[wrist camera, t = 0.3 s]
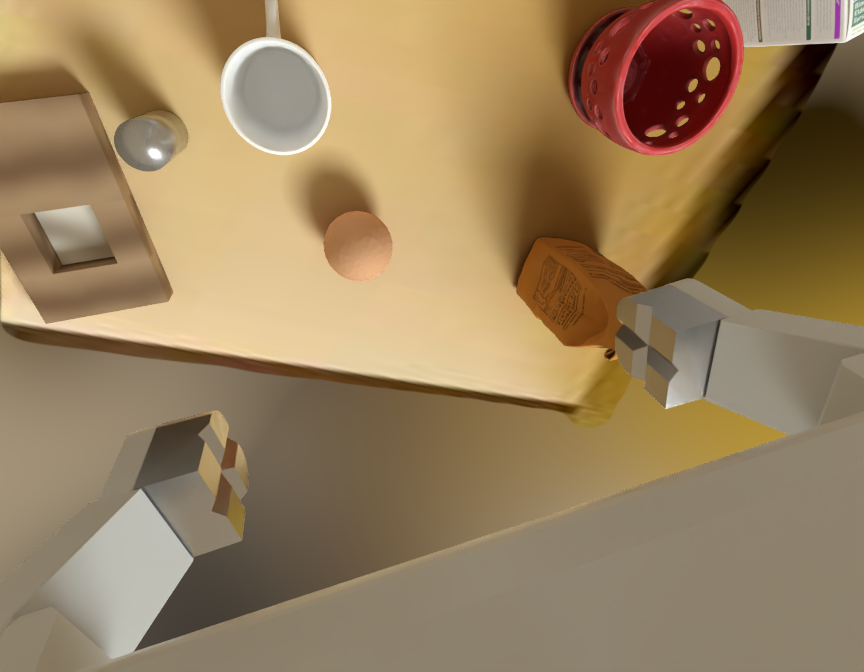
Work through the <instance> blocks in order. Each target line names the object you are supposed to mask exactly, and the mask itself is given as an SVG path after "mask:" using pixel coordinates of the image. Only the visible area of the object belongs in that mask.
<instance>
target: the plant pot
mask: <svg viewBox="0 0 864 672" xmlns="http://www.w3.org/2000/svg"><path fill="white" fill-rule="evenodd" d="M682 9H688V10H689V11H691V12H692V13H690V14H687V13H682V12H679V10H682ZM707 19H709V20H711V21H713V22H714V24H715V26H712V25H711V24H710V23H709V22H708V20H707ZM694 23H696V24H698V25H699V26H700V28H701V29H699V28H697V27H696V26H695V25H694ZM698 40H701V41H703V43H704V44H705V51H704V52H701V51H700V50H699V49H698V47H697V41H698ZM715 40H717V41H718V42H719V44H720V49H718V48H717V47H716V45H715ZM713 57H717V58H718V59H719V61H720V71H719V74H718V75H717V77H716V78H715V79H713V80H711V81H709V80H708V79H707V77H706V68H707V65H708V63H709V61H710V60H711V59H712V58H713ZM743 57H744V41H743V35H742V30H741V27H740V24H739V22H738V19H737V17H736V15H735V14H734V12H733V11H732V9H731V8H730V7H729V6H728V5H727V4H726V3H724V2H723V1H721V0H654V1H651V2H647V3H645V4H643V5H640V6H638V7H625V8H620V9H617V10H614V11H612V12H610V13H608V14H606V15H604V16H603V17H601V18H600V19H599V20H598V21H596V22H595V23H594V24H593V25H592V26H591V27H590V28H589V29H588V31H587V32H586V33H585V35H584V36H583V37H582V39H581V41H580V42H579V44H578V46H577V48H576V50H575V53H574V55H573V58H572V61H571V65H570V70H569V82H568V86H569V95H570V99H571V102H572V105H573V107H574V109H575V111H576V113H577V114H578V116H579V117H580V118H581V119H582V120H583V121H584V122H585V123H586V124H588V125H589V126H591V127H593V128H596V129H598V130H599V131H600V132H601V133H602V134H604V135H605V136H606V137H607V138H609V139H610V140H612V141H613V142H615V143H617V144H618V145H620V146H623V147H625V148H627V149H630V150H633V151H636V152H639V153H642V154H645V155H653V156H661V155H667V154H672V153H675V152H677V151H680V150H682V149H684V148H686V147H688V146H690V145H691V144H693V143H694V142H696V141H697V140H699V139H700V138H701V137H702V136H703V135H705V134H706V133H707V132H708V131H709V130H710V129H711V128H712V127H713V125H714V124H715V123H716V122H717V120H718V119H719V118H720V116H721V115H722V114H723V112H724V111H725V109H726V107H727V106H728V104H729V102H730V100H731V98H732V96H733V94H734V92H735V89H736V87H737V84H738V81H739V78H740V75H741V70H742V63H743ZM693 79H697V80H698V84H697V87H696V89H695V90H694V91H692V92H689V91H688V87H689V84H690V82H691V81H692V80H693ZM702 94H705V98H704V99H703V101H702V102H700V103H698V99H699V97H700V96H701V95H702ZM683 101H685V105H684V106H683V108H681V109H679V110H677V106H678V105H679V104H680V103H681V102H683ZM685 118H689V119H688V121H687V122H686V123H685V124H683V125H682V126H680V127H677V126H678V124H679V123H680V122H681V121H682V120H683V119H685ZM660 129H663V130H666V132H665V133H664V134H663V135H661V136H658V137H648V136H646V134H648V133H649V132H652V131H654V130H660ZM675 136H676V137H675ZM672 137H674V138H672Z"/></svg>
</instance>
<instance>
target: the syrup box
mask: <svg viewBox="0 0 864 672" xmlns="http://www.w3.org/2000/svg"><path fill="white" fill-rule="evenodd" d="M722 1H723V2H724V3H726V4H727V5H728V6H729V7H730V8H731V9H732V11H733V12H734V14H735V15H736V17H737V19H738V22H739V24H740V27H741V30H742V35H743V41H744V47H755V46H778V45H799V44H820V43H844V42H847V41H849V40H850V39H852V38H854V37H856V36H858V35H859V34H861V33H863V32H864V0H722Z"/></svg>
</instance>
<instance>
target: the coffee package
mask: <svg viewBox="0 0 864 672" xmlns="http://www.w3.org/2000/svg"><path fill="white" fill-rule="evenodd" d="M646 291H648V290H647V289H646V288H645V287H644V286H643V285H642V284H641V283H639V282H638V281H637V280H636V279H635V278H634V277H633V276H632V275H631V274H629V273H628V272H627V271H625V270H624V269H622V268H621V267H619V266H618V265H616V264H615V263H613V262H611V261H610V260H608V259H607V258H605V257H604V256H603V255H602V254H600V253H599V252H597V251H595V250H593V249H591V248H589V247H588V246H586V245H585V244H582V243H579V242H576V241H572V240H566V239H557V238H550V237H540V238H538V239H537V240H536V241H535V242H534V244H533V247H532V249H531V251H530V253H529V255H528V257H527V259H526V261H525V264H524V266H523V269H522V273H521V275H520V277H519V280H518V286H517V291H516V292H517V294H518V295H519V296H520V297H521V298H522V300H523V301H524V302H525V303H526V305H527V306H528V307H529V308H530V309H531V311H532V312H533V313H534V315H535V316H536V317H537V318H538V319H540V320H542V322H543V324H544V325H545V326H546V327H548V328H549V329H550V331H552V332H553V333H554V334H555V336H556V337H557V338H558V339H559V340H560V341H561V342H562V344H563V345H565V346H568V347H578V348H584V347H598V348H609V349H608V350H607V351H606V353H605V354H604V357H605V359H607V360H615V359H618V357H617V354H616V350H615V335H616V333H617V332H618V330H619V329H620V327H621V326H622V323H621V322H620V321H619V320H618V319H617V317H616V314H617V305H618V303H619V301H620V299H622V298H625V297H629V296H632V295H636V294H639V293H642V292H646Z"/></svg>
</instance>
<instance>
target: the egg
mask: <svg viewBox="0 0 864 672" xmlns="http://www.w3.org/2000/svg"><path fill="white" fill-rule="evenodd" d="M324 252H325V255H326V258H327V260H328V262H329V264H330V266H331V267H332V268H333V269H334V270H335V271H336V272H337V273H338V274H339V275H341V276H342V277H344V278H347V279H349V280H353V281H364V280H369V279H372V278H374V277H376V276H378V275H379V274H380V273H381V272H383V270H384V269H385V268H386V267H387V265H388V264H389V261H390V259H391V255H392V240H391V236H390V233H389V231H388V229H387V227H386V226H385V225H384V223H383V222H382V221H381V220H380V219H378V218H377V217H376V216H374V215H372V214H370V213H367V212H363V211H352V212H347V213H344V214H342V215H340V216H338V217H337V218H336V219H335V220H334V221H333V222H332V223H331V224H330V225H329V227H328V229H327V231H326V233H325V238H324Z"/></svg>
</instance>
